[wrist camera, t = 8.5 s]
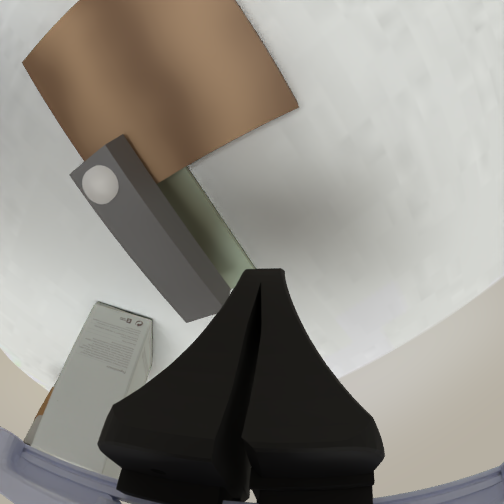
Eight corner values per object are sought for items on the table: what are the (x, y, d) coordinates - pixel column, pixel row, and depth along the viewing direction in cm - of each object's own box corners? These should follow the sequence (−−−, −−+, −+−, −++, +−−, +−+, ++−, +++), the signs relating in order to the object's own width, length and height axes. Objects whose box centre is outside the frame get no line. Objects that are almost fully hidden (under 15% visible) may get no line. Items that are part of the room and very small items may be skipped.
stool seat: (203, 296, 25) (197, 315, 23) (37, 63, 15) (18, 68, 13) (360, 236, 20) (366, 253, 19) (188, -62, 10) (178, -73, 9)
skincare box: (96, 299, 26) (22, 441, 14) (157, 318, 27) (100, 478, 15) (103, 351, 31) (54, 470, 19) (155, 368, 32) (115, 495, 19)
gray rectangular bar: (87, 161, 16) (65, 177, 14) (122, 133, 15) (101, 147, 13) (193, 301, 22) (185, 327, 20) (230, 288, 21) (224, 315, 19)
